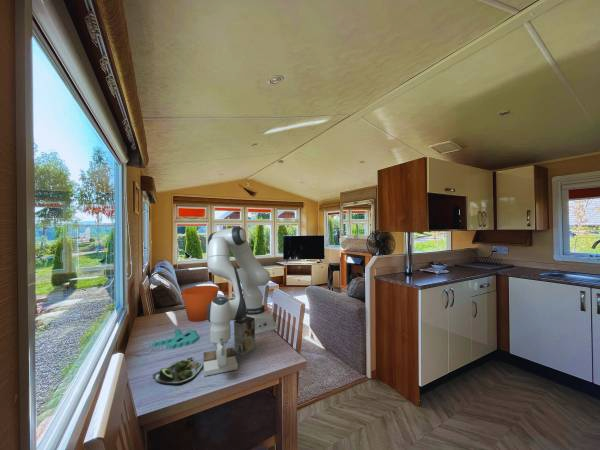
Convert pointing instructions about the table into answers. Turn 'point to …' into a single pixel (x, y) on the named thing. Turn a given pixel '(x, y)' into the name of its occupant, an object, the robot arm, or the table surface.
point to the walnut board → (212, 354)
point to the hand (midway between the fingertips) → (220, 366)
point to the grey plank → (212, 368)
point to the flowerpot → (198, 301)
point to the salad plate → (177, 372)
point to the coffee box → (244, 335)
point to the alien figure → (179, 339)
